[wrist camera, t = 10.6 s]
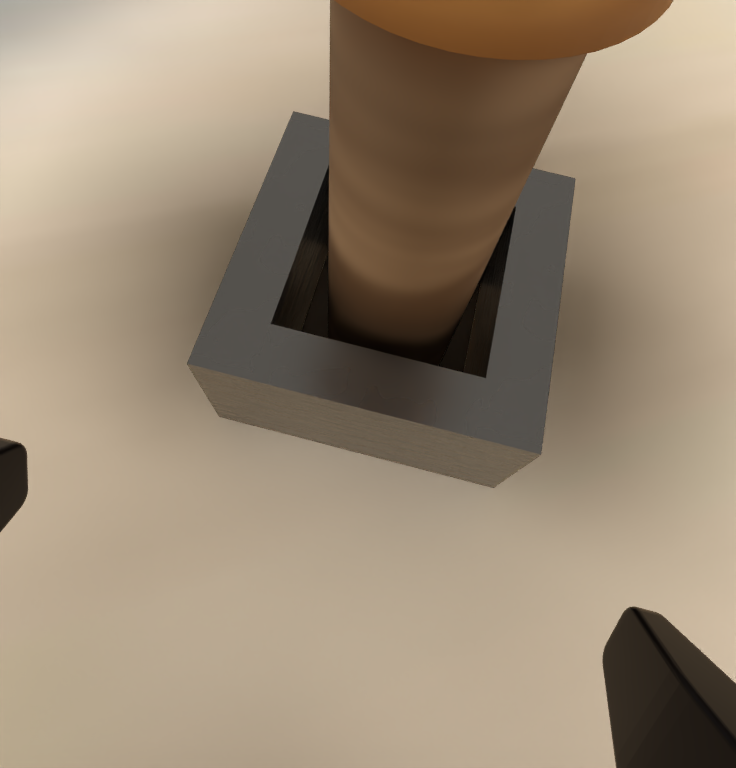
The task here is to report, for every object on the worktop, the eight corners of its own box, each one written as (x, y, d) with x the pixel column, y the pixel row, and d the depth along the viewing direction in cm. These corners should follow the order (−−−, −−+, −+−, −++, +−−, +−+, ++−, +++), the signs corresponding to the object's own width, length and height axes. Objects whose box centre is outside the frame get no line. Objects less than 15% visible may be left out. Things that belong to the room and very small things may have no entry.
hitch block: (493, 487, 16) (540, 454, 13) (219, 416, 17) (186, 363, 13) (529, 257, 20) (575, 178, 16) (300, 201, 20) (293, 111, 16)
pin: (424, 441, 17) (669, 37, 5) (276, 363, 17) (167, -165, 5) (489, 311, 19) (780, -205, 7) (354, 246, 19) (401, -331, 7)
